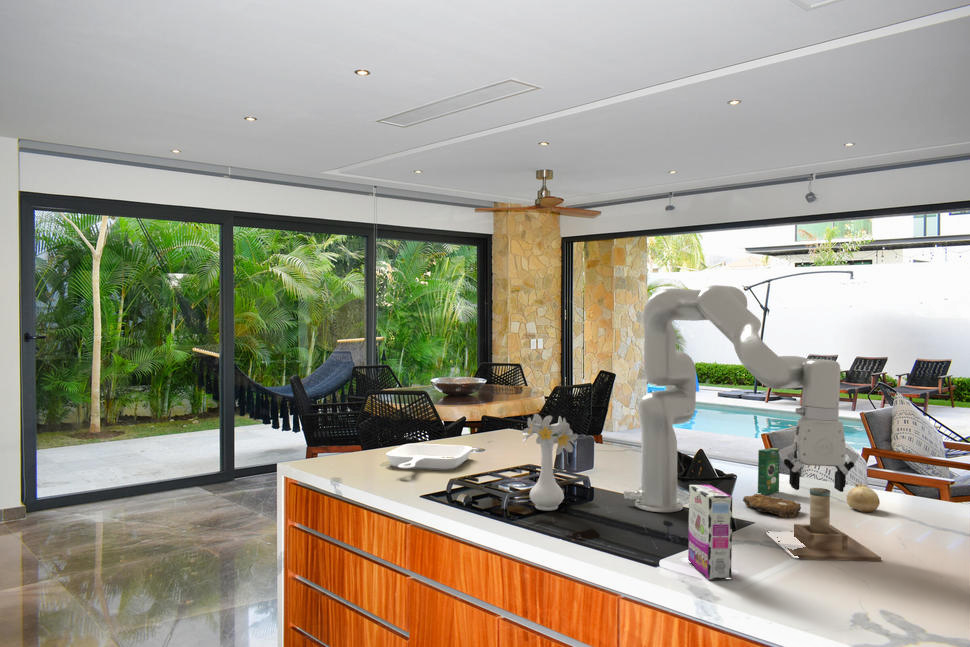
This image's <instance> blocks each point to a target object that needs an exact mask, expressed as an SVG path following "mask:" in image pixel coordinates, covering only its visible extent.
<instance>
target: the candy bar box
mask: <svg viewBox="0 0 970 647" xmlns="http://www.w3.org/2000/svg"><path fill="white" fill-rule="evenodd" d="M688 486H689V487H688V488H689V489H688V493H689V494H688V496H689V497H688V539H687V540H688V544H687V546H688V552H687V554H688V556H687V557H688V559H687V561H688V560H689V561H690V562H691V564H692V565H693V566H694V567H693V566H692V565H691V564H690V565H691V566H692V567H693V568H695V569H696V570H697V571H698V572H699V573H700V574H702V575H703V576H704V577H705V578H706V579H707V580H709V581H722V580H721V579H726V578H731V579H732V562H733V561H732V558H733V556H732V555H733V554H732V551H733V549H732V545H733V544H732V543H733V541H732V540H733V496H732V495H730V494H728V493H727V492H724V491H723V490H720V489H719V488H718V487H717V488H716V487H714V485H711V484H689V485H688Z"/></svg>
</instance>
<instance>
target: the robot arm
mask: <svg viewBox="0 0 970 647" xmlns="http://www.w3.org/2000/svg"><path fill="white" fill-rule="evenodd" d="M642 314H643V315H642V318H643V319H642V320H643V330H644V331H643V334H644V340H643V341H644V343H643V376H644V379H645V380H646V382H647V383H648V384H649V385H651V386H655V387H665V390H658V391H657V390H656V391H652V392H648V393H646V394H645V395H644V396H643V397H642V398H641V399H640V400H639V403H638V407H637V413H638V414H637V415H638V419H639V420H638V421H639V425H640V434H641V436H640V437H641V440H640V441H641V442H640V443H641V457H640V458H641V462H640V463H641V473H640V474H641V477H640V478H641V479H640V480H641V483H640V484H641V486H640V487H638V489H635V491H631V490H623V498H624V499H629V500H635V502H634V503H635V504H634V505H635V507H637V508H638V509H640V510H644V511H647V512H656V513H674V512H675V513H676V512H680V511H681V510H683V509H684V503H682V502H681V501H679V500H678V440H677V435H676V433H675V430H674V427H673V426H674V425H679V424H681V425H682V424H684V423H687V422H689V421H690V420H691V419H692V418H693V417H694V414H695V411H696V404H697V403H696V401H697V400H696V399H697V398H696V395H697V386H696V385H697V371H696V365H695V362H694V361H693V359H692V357H691V356H690V355H689V354H687V353H686V352H684V351H678V350H677V334H676V330H675V327H674V326H673V324H672V322H674V321H694V322H695V321H696V322H697V321H709V322H711V324H712V325H714V326H715V327H716V328H717V329H718V330H719V331H720V332H721V333H722V334H723V336H725V338H726V339H728V340H729V341H730V342H731V343H732V345H733V347H734V352H735V353H736V356H737V358H738V360H739V361H740V363H741V364H742V365H743V366H744V369H746V370H747V371H748V372H749V373H750V374H751V375H752V376H753V377H754V378H755V379H756V380H757V381H759V383H760V384H762V385H763V386H765V387H767V388H770V389H772V390H783V389H784V390H785V389H798V388H799V389H800V388H802V393H801V394H802V398H801V399H802V400H801V405H800V407H799V408H798V407H797V408H795V414H796V415H800V417H801V418H798V420H797V424H796V427H795V432H794V438H793V443H792V444H790V445H788V446H786V447H783V448H781V449H779V451H778V453H779V458H780V459H781V462H782V463H783V464H784V465H785V466H786V467H787V469H788V470H789V479H788V480H789V485H790V487H791V488H792V489H794V490H795V491H799V490H800V484H801V483H800V481H801V478H800V477H801V474H800V472H799V470H800V469H801V467H803V466H804V465H805V466H816V467H817V466H818V467H819V466H820V467H835V469H836V471H834V485H833V486H834V489H835V490H837V491H838V492H840V493H843V492H844V489H845V487H846V481H847V480H846V478H847V477H846V475H848V474H849V471H851V470H852V469H853V468H854V467H855V464H856V463H857V462H858V459H859V457H860V456H859V454H857V453H856V452H854V451H852V450H850V449H848V448H847V447H846V438H845V429H844V424H843V421H841V420H839V413H840V412H839V411H840V389H841V388H840V387H841V385H840V384H841V365H840V363H839V362H838V361H836V360H832V359H821V358H807V357H802V356H798V355H783V356H778V355H777V354H776V353H775V352H774V351H773V350H772V349H771V348H770V347H769V346H768V345H767V344H766V343H765V342H764V341H763V340H762V339H761V337H760V335H759V332H760V330H761V327H762V322H761V320H760V319H759V318H758V317H757V316H756V315H755V314H754V313H753V312H752V311H750V310H749V309H748V299H747V296H746V294H745V293H744V292H743V291H742V290H741V289H739V288H738V287H735V286H732V285H730V286H729V285H718V284H717V285H715V284H714V285H709V286H706V287H704V288H703V289H686V288H665V289H661V290H658V291H656V292H655V293H653V294H652V295H651V296H650V297H649V298H648V299H647V301H646V303H645V305H644V307H643V313H642ZM789 454H792V456H793V460H792V461H791V460H790V459H789V457H788V455H789ZM846 456H848V459H847V458H846ZM846 459H847V460H846Z"/></svg>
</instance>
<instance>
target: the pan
mask: <svg viewBox="0 0 970 647" xmlns="http://www.w3.org/2000/svg"><path fill="white" fill-rule="evenodd" d="M472 450H473V447H471V446H468V445H459V444H458V445H457V444H437V443H419V442H418V443H416V442H415V443H406V444H402V445H400V446H398V447H395V448H394V449H392V450H390V451H387V452H386V453H385V456H386V457H387V460H388V462H389V464H390V466H392V467H393V468H395V469H396V468H397V469H407V470H408V469H410V470H424V469H426V470H427V471H451V470H450V469H453V470H456V469H457V467H458V466H459V465H460V466H462V465H463V464H464V463H465V462H464V461H466V460H467V461H468V459H469V458H470V455H471V453H472V452H473V451H472ZM442 457H445V458H442ZM446 457H454V458H446ZM467 461H466V462H467ZM463 462H464V463H463ZM462 463H463V464H462ZM461 464H462V465H461ZM460 466H459V467H460ZM459 467H458V468H459ZM455 468H456V469H455ZM426 470H425V471H426Z"/></svg>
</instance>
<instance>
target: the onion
mask: <svg viewBox="0 0 970 647" xmlns="http://www.w3.org/2000/svg"><path fill="white" fill-rule="evenodd" d="M854 484H855V485H854V487H852V488H851V489H850V490H848V492H847V494H846V498H845V499H846V503H847V504H848V506H849V507H850V508H852V509H853V510H856V511H859V512H860V513H871V512H874V511H875V510H877V509H878V508H879V506H880V504H881V503H880V498H879V496H878V494H877V492H875V490H873V489H872V488H870V487H868V486H866V484H862V483H856V482H854Z"/></svg>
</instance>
